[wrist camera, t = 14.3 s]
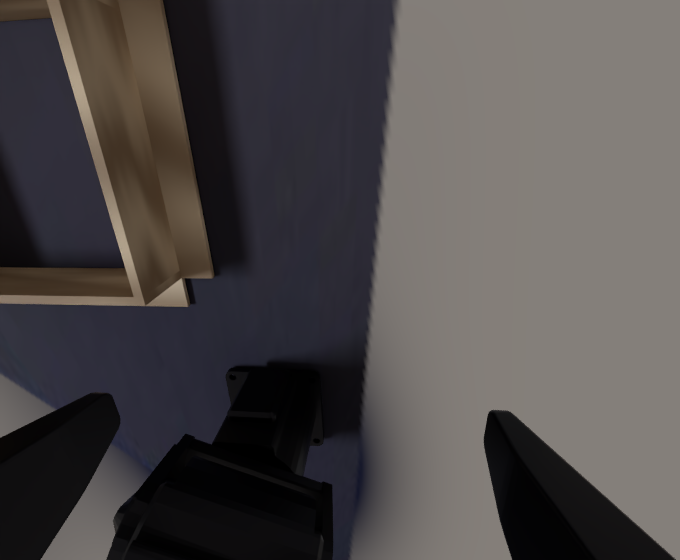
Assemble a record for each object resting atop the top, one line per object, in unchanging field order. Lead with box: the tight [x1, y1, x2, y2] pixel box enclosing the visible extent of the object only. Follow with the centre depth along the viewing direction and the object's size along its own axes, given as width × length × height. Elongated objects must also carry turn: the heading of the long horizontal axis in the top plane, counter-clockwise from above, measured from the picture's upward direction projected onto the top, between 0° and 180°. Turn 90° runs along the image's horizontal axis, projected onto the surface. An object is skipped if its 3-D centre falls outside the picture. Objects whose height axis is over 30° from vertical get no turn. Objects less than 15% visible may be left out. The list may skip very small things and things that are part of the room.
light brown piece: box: [0, 0, 215, 307], centre depth 18 cm, size 18×18×4 cm
